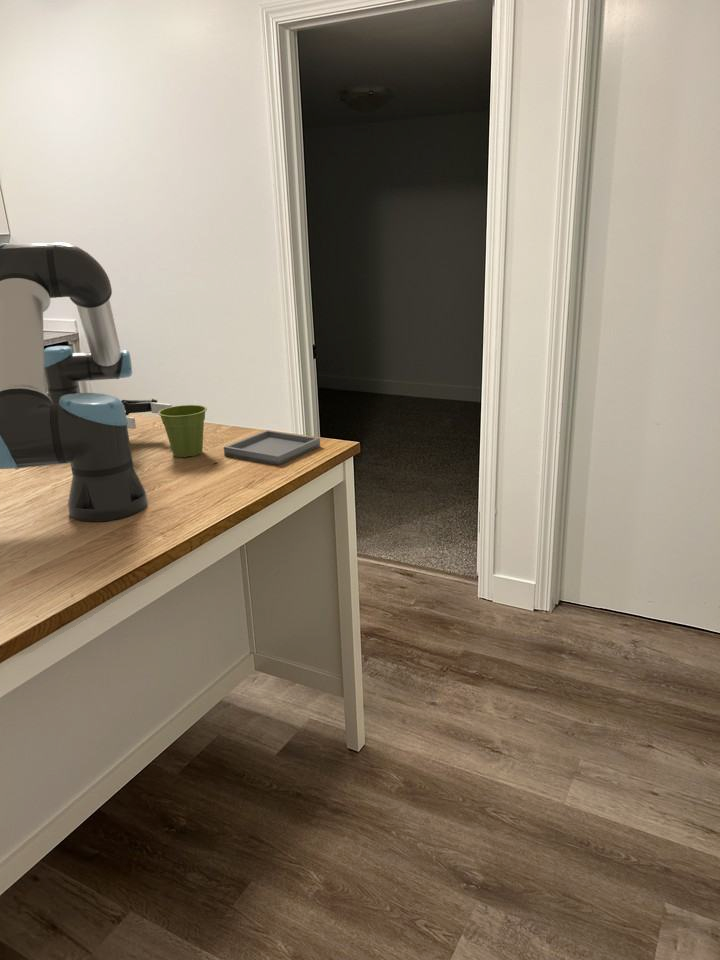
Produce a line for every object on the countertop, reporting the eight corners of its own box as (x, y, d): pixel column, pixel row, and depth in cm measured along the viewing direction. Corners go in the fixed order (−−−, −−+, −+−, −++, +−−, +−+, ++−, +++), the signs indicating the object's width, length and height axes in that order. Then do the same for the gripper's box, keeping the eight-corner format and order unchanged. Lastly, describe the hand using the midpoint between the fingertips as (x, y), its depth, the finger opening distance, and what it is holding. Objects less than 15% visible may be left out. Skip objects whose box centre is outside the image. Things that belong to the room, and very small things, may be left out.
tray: (320, 446, 183) (319, 438, 183) (279, 465, 170) (278, 456, 169) (267, 438, 192) (267, 430, 191) (224, 455, 178) (223, 447, 178)
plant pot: (217, 446, 186) (213, 404, 182) (203, 461, 175) (198, 416, 171) (172, 446, 187) (167, 404, 183) (156, 461, 176) (150, 416, 172)
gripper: (127, 410, 203) (187, 418, 194) (56, 434, 183) (119, 444, 174) (123, 384, 201) (183, 391, 192) (51, 405, 180) (115, 414, 171)
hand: (153, 416), depth 183 cm, fingers open, 13 cm apart
